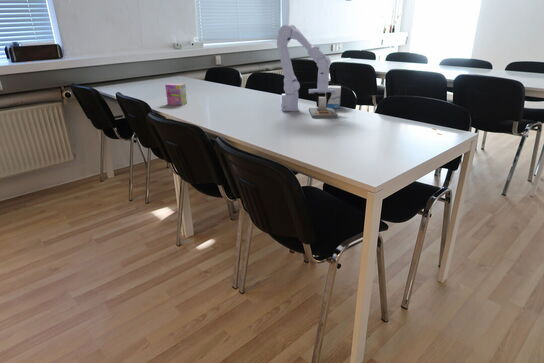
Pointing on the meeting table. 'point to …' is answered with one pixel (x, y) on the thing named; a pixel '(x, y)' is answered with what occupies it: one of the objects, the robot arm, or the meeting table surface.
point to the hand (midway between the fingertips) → (321, 106)
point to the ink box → (334, 97)
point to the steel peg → (322, 104)
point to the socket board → (323, 113)
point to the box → (176, 94)
